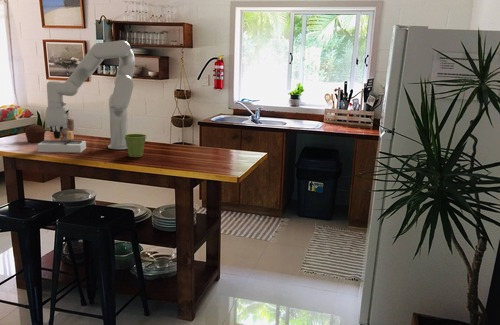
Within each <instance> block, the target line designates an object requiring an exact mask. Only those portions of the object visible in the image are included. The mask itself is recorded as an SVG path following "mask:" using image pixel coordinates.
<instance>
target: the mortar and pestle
mask: <svg viewBox="0 0 500 325" xmlns="http://www.w3.org/2000/svg"><path fill="white" fill-rule="evenodd" d="M74 120H75V119H71V118H67V128H64V129H62V130H61V131H60V135H62V137H60V141H69V140H67V133H66V132H68V131H73V132H74V128H75V126H74V124H75V123H74ZM61 127H62V126H61ZM72 141H75V140H74V138H73V139H72Z"/></svg>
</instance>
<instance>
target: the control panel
mask: <svg viewBox="0 0 500 325" xmlns="http://www.w3.org/2000/svg"><path fill="white" fill-rule="evenodd" d="M36 146H37V153H77V154H78V153H80V154H81V153H82V152H83V151H85V150H86V149H87V141H86V140H74V141H72V142H69V141H61V140H56V139H54V140H51V139H50V140H48V139H47V140H46V139H44V141H42V142H41V143H37V145H36Z"/></svg>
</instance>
